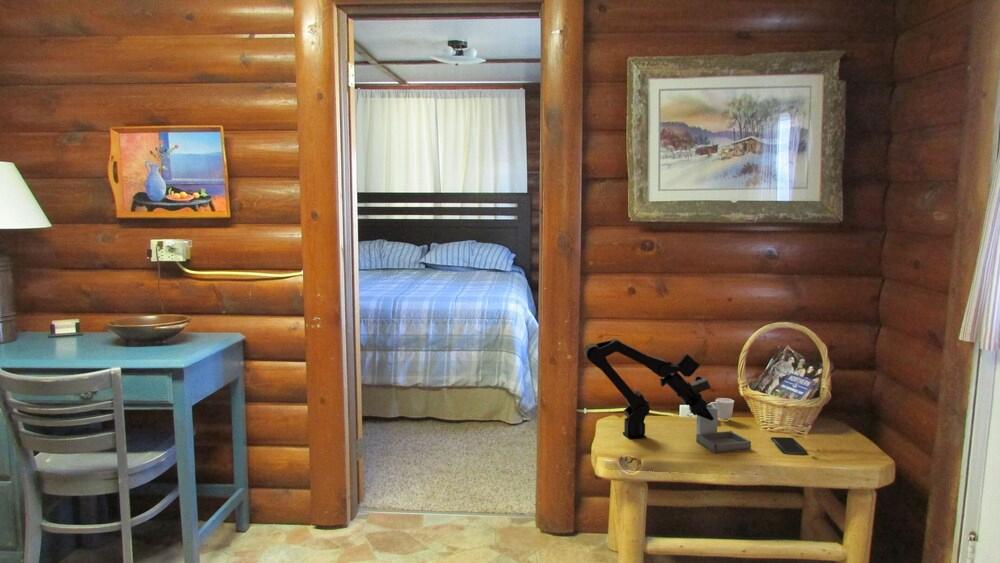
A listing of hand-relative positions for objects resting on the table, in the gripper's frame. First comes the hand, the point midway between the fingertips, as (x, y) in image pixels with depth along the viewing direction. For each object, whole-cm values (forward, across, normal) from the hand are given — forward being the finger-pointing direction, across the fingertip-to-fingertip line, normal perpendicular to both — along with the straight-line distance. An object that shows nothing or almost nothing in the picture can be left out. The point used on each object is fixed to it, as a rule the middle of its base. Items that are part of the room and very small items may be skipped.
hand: (711, 416), depth 233 cm
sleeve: (+4, 0, +6) cm, 7 cm away
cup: (+10, +19, 0) cm, 22 cm away
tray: (+7, -10, +4) cm, 12 cm away
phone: (+22, -9, -12) cm, 27 cm away
